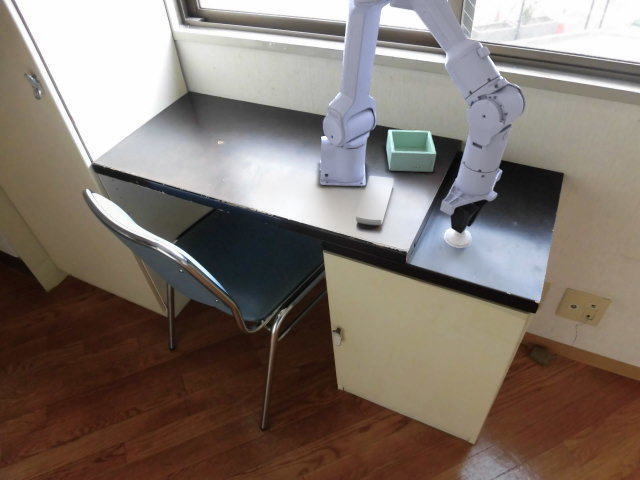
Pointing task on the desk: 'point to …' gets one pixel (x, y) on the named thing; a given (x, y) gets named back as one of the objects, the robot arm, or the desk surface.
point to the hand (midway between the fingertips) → (461, 226)
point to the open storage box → (410, 150)
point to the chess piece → (458, 238)
